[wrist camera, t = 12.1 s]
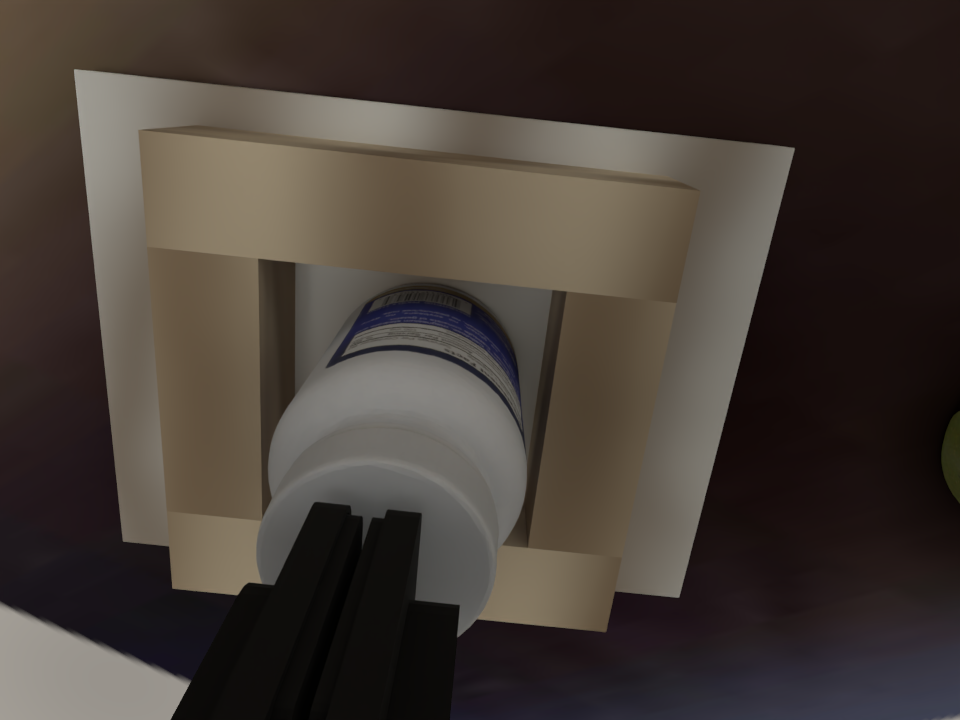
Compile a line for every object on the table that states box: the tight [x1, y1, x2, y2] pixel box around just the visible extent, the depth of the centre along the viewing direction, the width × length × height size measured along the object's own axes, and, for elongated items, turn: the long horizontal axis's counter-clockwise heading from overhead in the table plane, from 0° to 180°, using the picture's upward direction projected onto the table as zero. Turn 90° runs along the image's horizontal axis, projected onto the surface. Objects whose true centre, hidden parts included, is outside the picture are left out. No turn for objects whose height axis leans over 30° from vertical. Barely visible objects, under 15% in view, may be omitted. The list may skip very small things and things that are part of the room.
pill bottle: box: [256, 283, 527, 637], centre depth 15 cm, size 5×5×9 cm
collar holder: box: [74, 69, 795, 632], centre depth 18 cm, size 18×14×4 cm
